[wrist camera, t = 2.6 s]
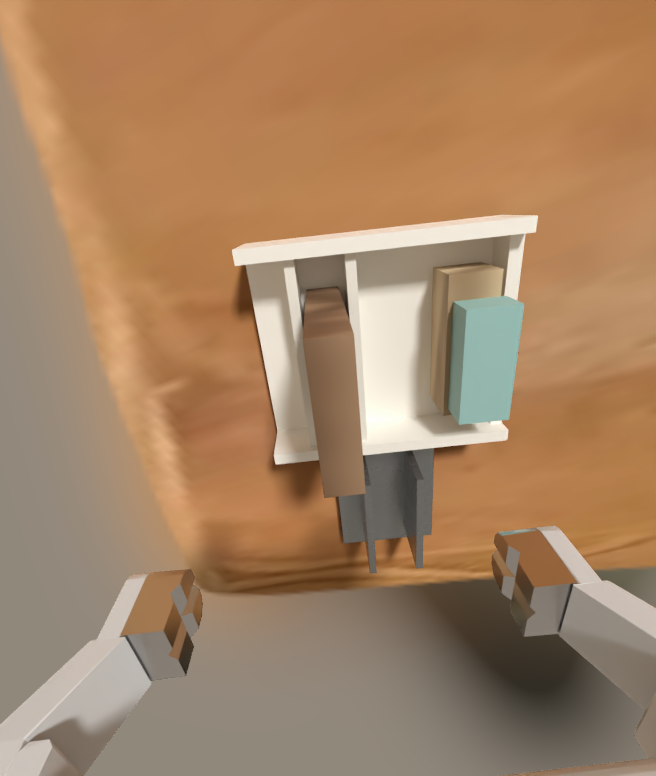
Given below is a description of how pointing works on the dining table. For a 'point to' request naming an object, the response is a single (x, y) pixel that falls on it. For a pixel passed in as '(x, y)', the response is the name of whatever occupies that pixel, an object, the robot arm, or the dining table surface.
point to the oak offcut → (447, 289)
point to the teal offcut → (483, 358)
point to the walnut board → (333, 392)
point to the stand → (391, 502)
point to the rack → (373, 324)
